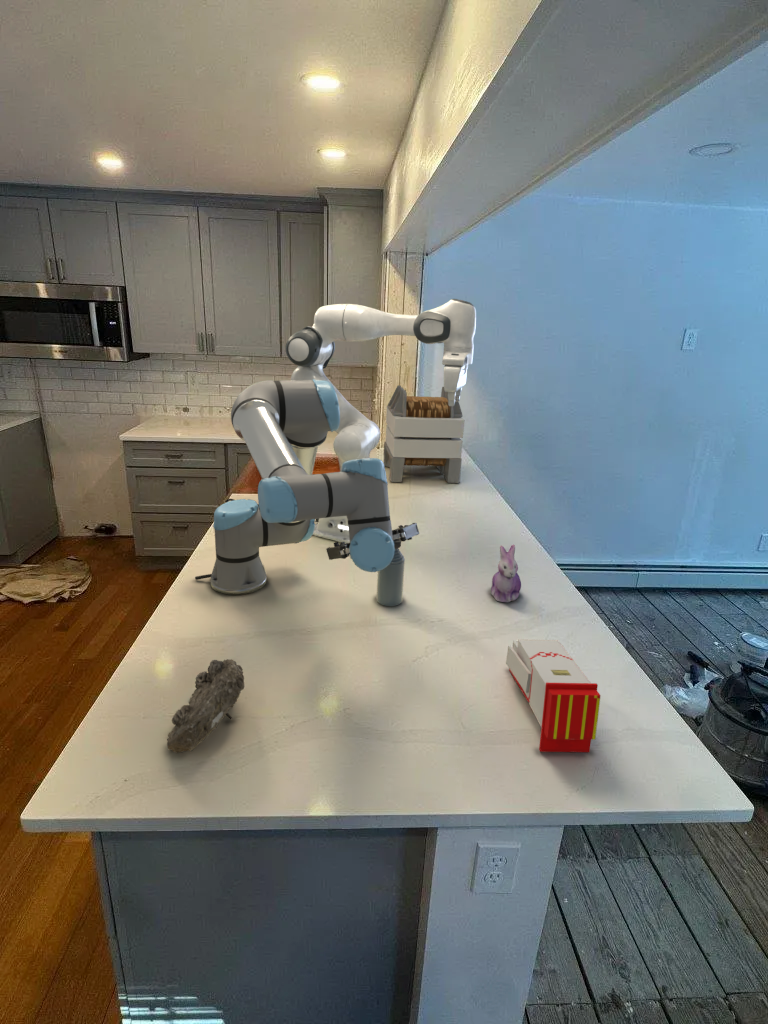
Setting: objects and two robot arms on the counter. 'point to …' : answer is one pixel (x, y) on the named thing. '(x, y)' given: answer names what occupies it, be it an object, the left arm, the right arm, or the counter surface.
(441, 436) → the transformer
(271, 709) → the counter surface
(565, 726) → the toy
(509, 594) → the figurine
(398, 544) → the cap
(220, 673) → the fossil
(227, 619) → the counter surface
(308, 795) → the counter surface
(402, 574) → the bottle
